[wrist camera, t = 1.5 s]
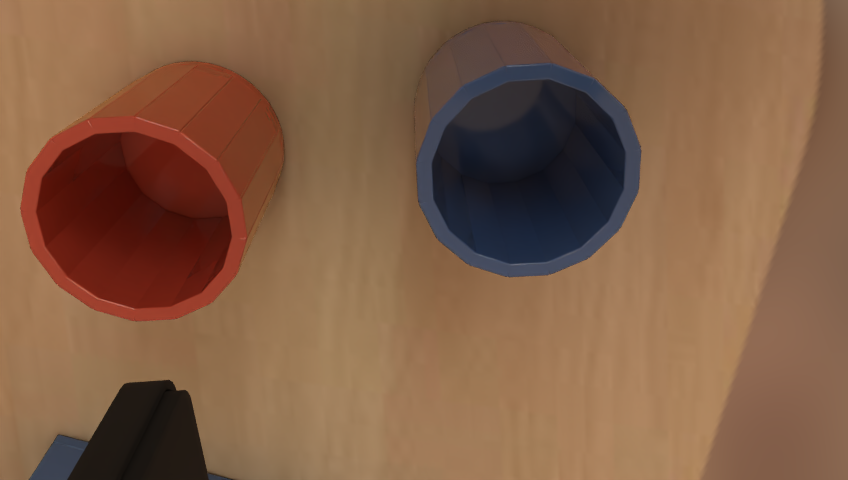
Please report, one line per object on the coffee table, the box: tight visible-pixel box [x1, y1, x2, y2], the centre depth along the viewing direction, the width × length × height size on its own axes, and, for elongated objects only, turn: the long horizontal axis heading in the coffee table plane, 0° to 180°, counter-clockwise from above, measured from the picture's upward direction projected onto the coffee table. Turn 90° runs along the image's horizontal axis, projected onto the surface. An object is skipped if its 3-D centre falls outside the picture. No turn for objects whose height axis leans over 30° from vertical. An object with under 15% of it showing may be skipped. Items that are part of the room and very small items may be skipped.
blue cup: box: [414, 21, 641, 277], centre depth 23 cm, size 6×6×7 cm
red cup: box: [20, 62, 284, 321], centre depth 23 cm, size 6×6×7 cm
